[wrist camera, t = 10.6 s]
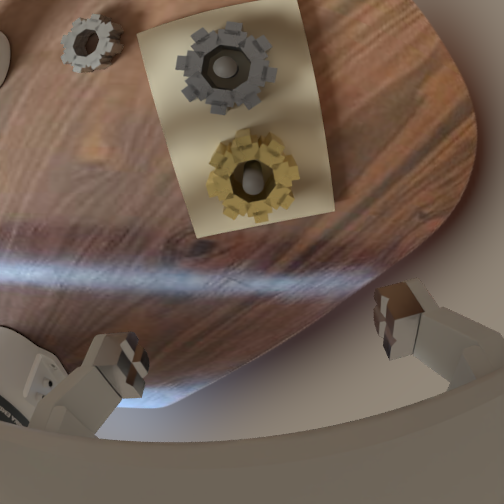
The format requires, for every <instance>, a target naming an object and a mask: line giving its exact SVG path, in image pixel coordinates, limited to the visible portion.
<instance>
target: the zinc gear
mask: <svg viewBox="0 0 504 504" xmlns="http://www.w3.org/2000/svg"><path fill="white" fill-rule="evenodd" d="M111 19H112V18H109V17H106V16H103V15H99V14H92V16H91V18H90V19H88V18H87V19H84V18H78V19H77V20H75V21H74V22H73V23H72V25H73V28H72V29H71V31H72V32H69V33H68V35H63V37H62V40H61V43H60V44H64V47H63V48H66V49H65V50H64V53H65V54H63V55H62V56H61V59H62V61H63V63H64V64H71V66H74V68H73V71H74V72H79V73H85V72H93V70H104V69H106V68H107V67H109V66H111V65H112V63H111V61H110V60H111V59H113V57H112V56H115V55H116V53H120V54H121V52H122V49H123V46H124V45H122V44H120V40H118V39H119V38H121V37H120V34H122V33H123V32H124V31H123V29H122V27H121V25H119V24H116V23H113V22H110V21H111ZM94 33H97V35H98V37H99V42H98V45H97V47H96V50H95V51H94V52H93V53H91V54H90V55H88V53H87V51H86V48H85V46H86V43H87V41H88V38H89V37H90V36H91V35H93V34H94Z"/></svg>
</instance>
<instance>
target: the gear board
mask: <svg viewBox="0 0 504 504" xmlns="http://www.w3.org/2000/svg"><path fill="white" fill-rule="evenodd" d="M227 21H230V22H237V23H243V30H244V31H243V32H247V36H248V37H249V36H251V35H252V36H253V37H254V38H255V39H257V38H259V37H261V36H262V35H264V36H265V37H266V39H267V40H268V41H269V42H270V44H271V45H272V46H273V47H272V48H271V50H270V51H269V52H267V53H266V54H267V55H268V57H267V59H266V60H267V61H269V66H268V67H272V68H278V69H277V74H276V79H275V83H271V82H266V81H265V86H264V87H261V86H258V87H259V88H260V90H261V92H259V93H258V94H257V96H258V97H259V98H260V100H261V103H259V104H258V105H256V106H254V107H253V108H251V109H250V110H248V109H247V107H246V106H245V105H244V103H243V104H241V105H240V106H237V104H236V103H235V105H234V107H233V108H232V107H229V110H228V112H227V114H226V115H219V114H211V113H210V110H211V105H210V104H205V102H206V99H205V100H203V101H200V100H199V98H198V99H197V100H194V101H192V102H189V101H188V99H187V98H186V97H185V96H184V94H183V93H182V92H181V90H183V89H184V88H185V87H187V86H188V85H187V83H186V82H185V80H186V79H188V78H189V77H186V76H183V75H184V71H183V70H175V68H176V62H177V56H178V55H179V56H187V51H188V50H191V51H194V50H193V49H192V48H191V45H193V44H194V43H195V41H194V40H193V39H192V38H191V37H190V36H191V35H192V34H193V33H195V32H196V31H198V30H199V29H201V28H202V27H203V28H204V29H205V30H206V31H207V32H208V33H210V32H211V31H213V30H214V31H215V32H216V33H217V35H218V30H219V29H225V27H226V22H227ZM137 38H138V42H139V46H140V50H141V54H142V58H143V62H144V65H145V69H146V73H147V77H148V80H149V84H150V88H151V91H152V95H153V98H154V102H155V106H156V109H157V113H158V116H159V119H160V123H161V126H162V130H163V133H164V137H165V140H166V143H167V147H168V150H169V153H170V156H171V160H172V163H173V166H174V169H175V172H176V176H177V179H178V182H179V185H180V188H181V191H182V194H183V198H184V201H185V204H186V207H187V210H188V213H189V216H190V219H191V222H192V225H193V228H194V231H195V234H196V237H197V238H200V237H205V236H210V235H215V234H220V233H225V232H230V231H235V230H240V229H245V228H250V227H255V226H260V225H265V224H270V223H275V222H280V221H285V220H291V219H296V218H301V217H306V216H312V215H317V214H322V213H328V212H333V211H335V206H334V197H333V188H332V180H331V173H330V165H329V158H328V151H327V144H326V138H325V131H324V125H323V119H322V113H321V108H320V102H319V97H318V91H317V86H316V81H315V76H314V71H313V66H312V61H311V57H310V52H309V48H308V43H307V39H306V35H305V30H304V26H303V22H302V18H301V14H300V10H299V7H298V3H297V0H259V1H253V2H248V3H242V4H237V5H233V6H228V7H223V8H219V9H215V10H211V11H207V12H203V13H199V14H196V15H192V16H188V17H185V18H182V19H178V20H175V21H172V22H169V23H166V24H163V25H160V26H157V27H154V28H151V29H149V30H146V31H143V32H141V33H138V34H137ZM250 66H251V64H250V62H249V61H248V60H247V58H246V57H245V56H244V55H243V53H242V52H241V51H234V50H227V49H223V50H222V51H221V52H219V53H218V54H216V55H215V56H213V57H212V58H210V61H209V67H208V72H207V75H208V76H209V77H210V79H211V80H212V81H213V82H214V84H215V85H216V86H217V87H221V88H228V89H235V88H236V87H238V86H239V85H241V84H242V83H244V82H245V81H247V80H248V76H249V71H250ZM247 128H250V132H251V135H256V134H257V138H258V139H259V137H260V136H261V135H262V136H263V137H265V138H266V136H267V135H268V133H269V132H271V133H273V134H274V135H276V136H278V137H279V138H281V140H282V142H283V144H284V146H285V149H284V150H283V152H284V154H285V156H286V155H291V154H292V156H293V158H294V160H295V162H296V164H297V165H298V171H299V177H300V179H298V180H293V181H292V186H290V187H291V190H292V193H293V195H294V198H295V200H294V201H293V202H292V204H291V205H290V206H289V208H288V209H287V210H286V209H284V208H283V207H281V206H279V208H278V209H277V210H275V209H274V208H272V211H273V213H268V218H269V221H267V222H262V223H257V224H255V220H254V216H253V217H248V215H247V213H246V214H245V216H244V217H243V216H241V215H240V214H239V215H238V216H237V218H236V219H235V220H233V219H231V218H229V217H228V216H226V215H224V214H223V209H224V205H222V202H223V200H222V201H219V199H218V196H215V197H210V198H209V195H208V191H207V188H206V182H207V180H208V177H209V175H210V172H211V171H214V169H215V167H213V166H211V165H210V164H209V162H210V160H211V157H212V155H213V153H214V151H215V150H216V148H217V147H218V145H219V143H220V142H221V143H222V144H224V145H226V146H227V145H228V144H229V142H231V143H232V142H233V139H235V135H236V131H238V130H242V129H247ZM272 172H273V171H272V168H271V167H269V166H268V165H266V164H264V163H263V162H261V161H260V160H258V159H254V160H250V161H245V162H240V163H238V165H237V166H236V168H235V169H234V171H233V173H234V177H235V180H237V181H238V182H240V183H242V184H243V189H244V191H245V192H246V193H248V194H250V195H256V194H259V193H260V192H261V191H262V190H263V188H264V184H265V182H266V181H267V179H268V178H269V177H270V175H271V174H272Z"/></svg>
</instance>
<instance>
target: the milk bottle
mask: <svg viewBox="0 0 504 504" xmlns="http://www.w3.org/2000/svg"><path fill="white" fill-rule="evenodd" d="M9 64H10V44H9V42H8V39H7V37H6V36H5V35H4V34H3V33H2V32H1V31H0V86H1V85H2V83H3V81H4V79H5V77H6V75H7V72H8V68H9Z"/></svg>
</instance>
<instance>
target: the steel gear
mask: <svg viewBox="0 0 504 504" xmlns="http://www.w3.org/2000/svg"><path fill="white" fill-rule="evenodd" d="M243 31H244V30H243V23H237V22H230V21H227V22H226V27H225V29H219V30H218V35H217V33H216V32H215V31H214V30H213V31H211V32H210V33H208V32H207V31H206V30H205V29H204V28H203V27H202V28H201V29H199V30H198V31H196V32H195V33H193V34H192V35H191V36H190V37H191V38H192V39H193V40H194V41H195V43H194V44H193V45H191V48H192V49H193V50H194V51H191V50H188V51H187V56H179V55H178V56H177V62H176V68H175V70H183V71H184V75H183V76H186V77H189V78H188V79H186V80H185V82H186V83H187V85H188V86H187V87H185V88H184V89H183V90H181V92H182V93H183V94H184V96H185V97H186V98H187V99H188V101H189V102H192V101H194V100H197V99H198V98H199V100H200V101H203V100H205V99H206V102H205V104H210V105H211V110H210V113H211V114H219V115H226V114H227V112H228V110H229V107H232V108H233V107H234V105H235V103H236V104H237V106H240V105H241V104H243V103H244V105H245V106H246V107H247V109H248V110H250V109H251V108H253V107H254V106H256V105H258V104H259V103H261V100H260V98H259V97H258V96H257V94H258V93H259V92H261V90H260V88H259V87H258V86H261V87H264V86H265V81H266V82H271V83H275V79H276V74H277V69H278V68H272V67H268V66H269V61H267V60H266V59H267V57H268V55H267V54H266V53H267V52H269V51H270V50H271V48H272V47H273V46H272V45H271V44H270V42H269V41H268V40H267V39H266V37H265V36H264V35H262V36H261V37H259V38H257V39H255V38H254V37H253V36H252V35H251V36H249V37H248V36H247V32H243ZM223 49H227V50H234V51H241V52H242V53H243V55H244V56H245V57H246V58H247V60H248V61H249V62H250V64H251V66H250V71H249V76H248V80H247V81H245V82H244V83H242V84H241V85H239V86H238V87H236V88H235V89H228V88H221V87H217V86H216V85H215V84H214V82H213V81H212V80H211V79H210V77H209V76H208V75H207V72H208V67H209V61H210V58H212V57H213V56H215V55H216V54H218V53H219V52H221V51H222V50H223Z"/></svg>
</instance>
